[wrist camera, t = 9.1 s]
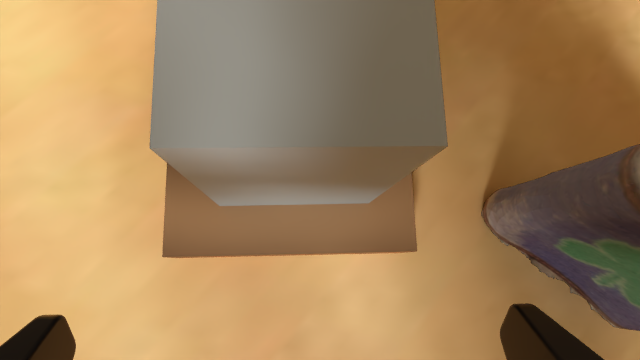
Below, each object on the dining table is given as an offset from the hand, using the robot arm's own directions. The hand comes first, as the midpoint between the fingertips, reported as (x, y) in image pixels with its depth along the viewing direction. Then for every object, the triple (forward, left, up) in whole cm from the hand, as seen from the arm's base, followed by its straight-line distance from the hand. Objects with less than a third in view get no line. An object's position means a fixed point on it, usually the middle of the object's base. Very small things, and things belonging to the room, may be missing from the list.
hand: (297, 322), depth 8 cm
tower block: (+2, -6, -8) cm, 10 cm away
